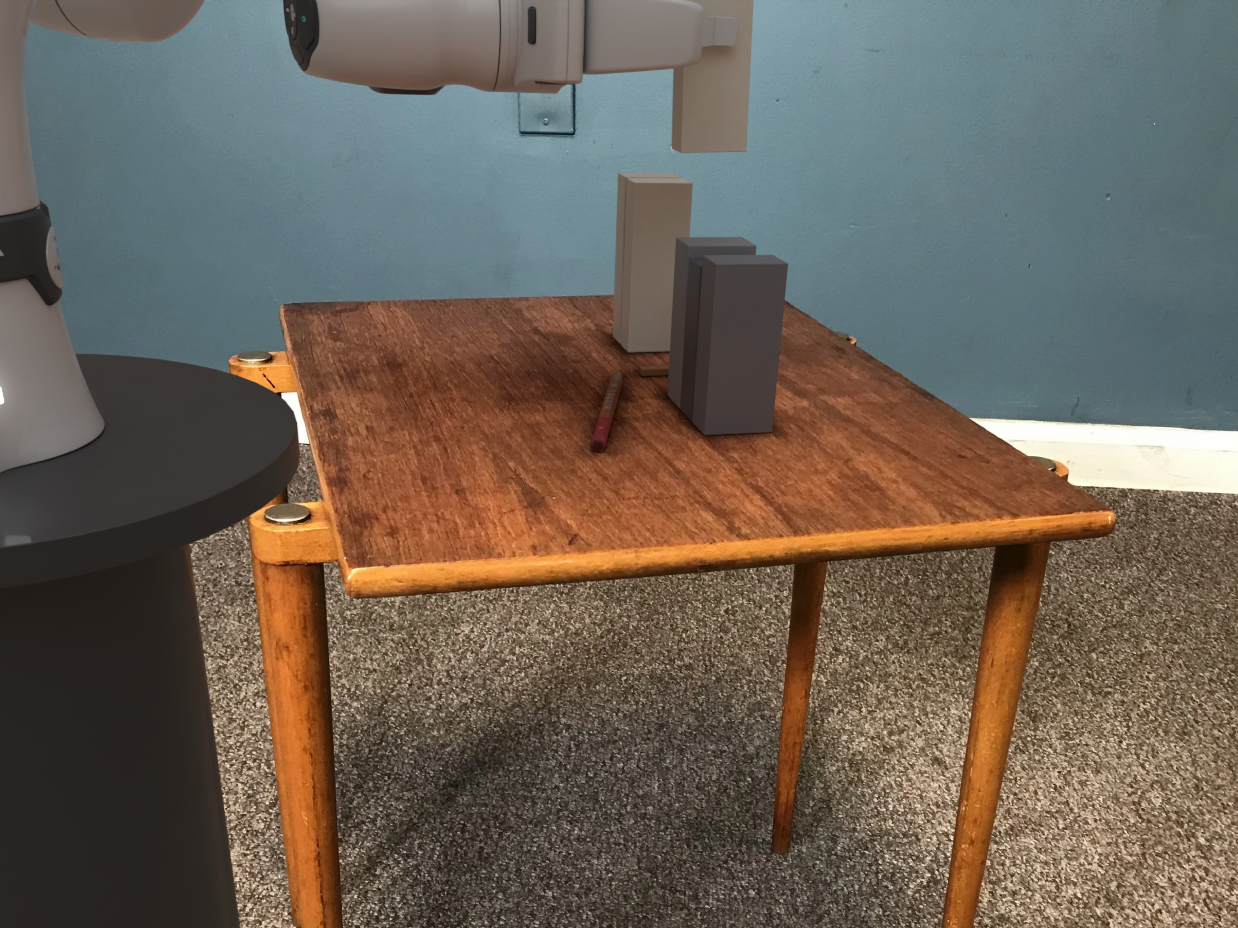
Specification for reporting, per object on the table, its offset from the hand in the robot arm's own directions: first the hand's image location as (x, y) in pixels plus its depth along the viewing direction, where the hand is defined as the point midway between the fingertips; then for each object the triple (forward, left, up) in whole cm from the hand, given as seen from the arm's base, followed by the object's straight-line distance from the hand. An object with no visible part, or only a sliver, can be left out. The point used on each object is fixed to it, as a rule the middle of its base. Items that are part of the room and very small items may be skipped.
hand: (726, 30), depth 90 cm
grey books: (-1, -7, -26) cm, 27 cm away
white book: (-1, 0, -8) cm, 8 cm away
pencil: (-9, -5, -26) cm, 28 cm away
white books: (-1, +10, -26) cm, 27 cm away
